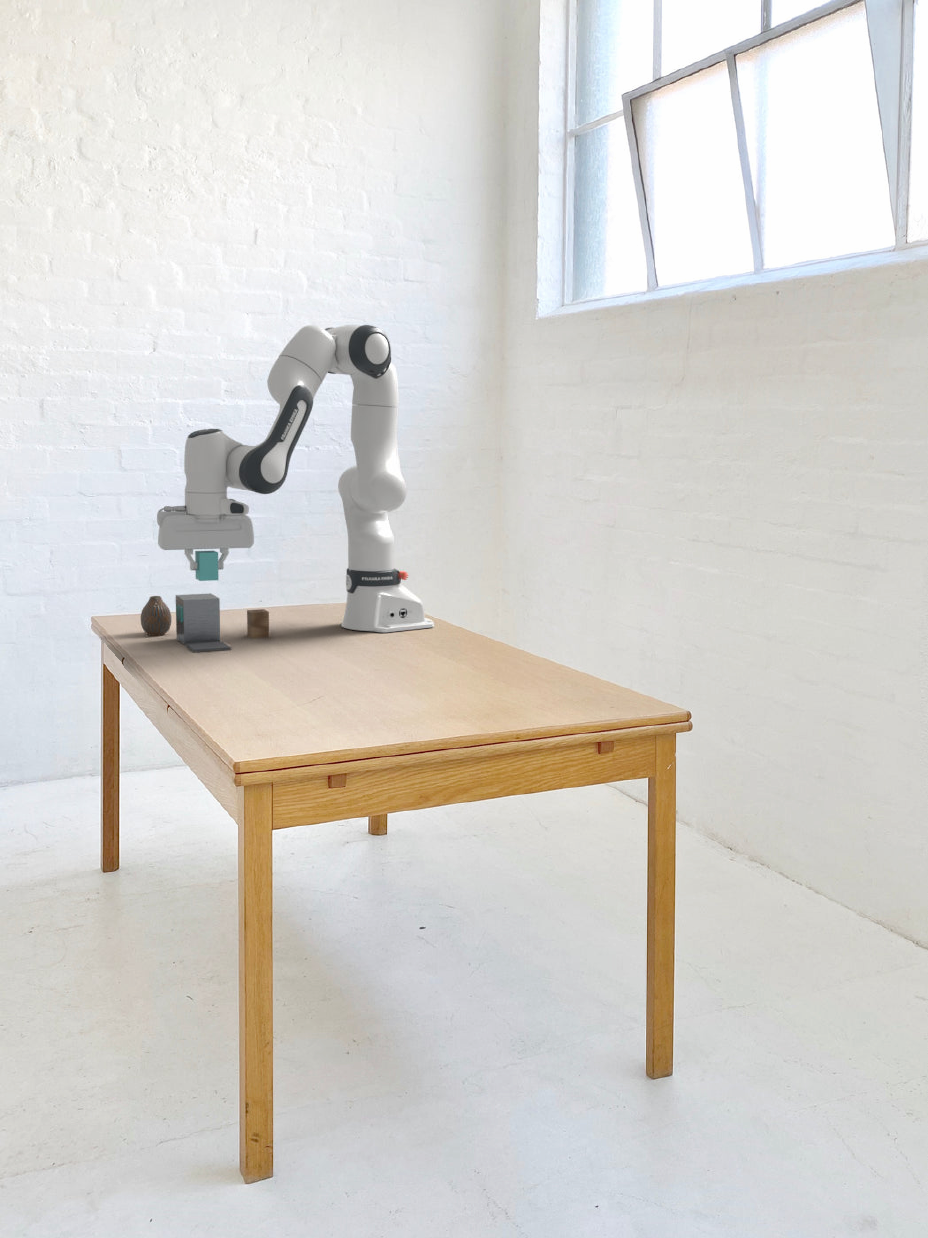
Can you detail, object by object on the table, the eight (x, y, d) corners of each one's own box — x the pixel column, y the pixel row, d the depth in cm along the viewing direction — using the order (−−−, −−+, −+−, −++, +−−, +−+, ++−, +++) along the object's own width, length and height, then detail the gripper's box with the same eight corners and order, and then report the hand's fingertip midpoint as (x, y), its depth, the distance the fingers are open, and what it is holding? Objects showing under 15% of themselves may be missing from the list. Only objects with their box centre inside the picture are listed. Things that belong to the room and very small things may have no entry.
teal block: (213, 577, 261) (213, 550, 260) (218, 580, 257) (218, 552, 256) (195, 578, 259) (195, 550, 258) (199, 580, 256) (199, 553, 255)
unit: (212, 636, 275) (211, 593, 273) (221, 642, 267) (220, 598, 266) (175, 638, 271) (174, 595, 269) (183, 645, 264) (182, 600, 262)
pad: (222, 644, 266) (222, 641, 266) (230, 649, 259) (230, 647, 259) (186, 646, 262) (186, 643, 262) (193, 652, 256) (193, 649, 256)
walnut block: (264, 634, 278) (263, 609, 277) (269, 637, 275) (268, 611, 274) (247, 635, 277) (247, 610, 276) (252, 638, 273) (251, 612, 272)
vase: (167, 637, 273) (166, 599, 272) (137, 636, 273) (136, 598, 272) (175, 631, 280) (174, 594, 278) (145, 631, 280) (144, 594, 278)
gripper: (160, 507, 248) (161, 573, 251) (256, 506, 257) (256, 569, 259) (153, 504, 254) (155, 569, 256) (248, 503, 263) (248, 566, 265)
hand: (206, 569), depth 258 cm, fingers closed on teal block, 4 cm apart
